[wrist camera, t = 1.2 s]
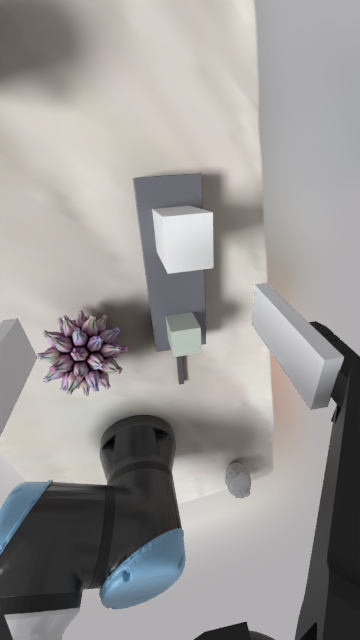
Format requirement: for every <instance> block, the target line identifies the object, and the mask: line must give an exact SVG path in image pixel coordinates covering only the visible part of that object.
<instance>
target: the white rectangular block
mask: <svg viewBox="0 0 360 640" xmlns="http://www.w3.org/2000/svg"><path fill="white" fill-rule="evenodd" d="M152 213H153V222H154V231H155V241H156V250H157V253H158V255H159V257H160V259H161V261H162V263H163V265H164V267H165V269H166V271H167V273H168V274H170V273H178V272H187V271H195V270H203V269H211V268H213V212H210V211H207V210H203V209H200V208H196V207H193V206H177V207H166V208H155V209H152Z"/></svg>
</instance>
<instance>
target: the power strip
mask: <svg viewBox="0 0 360 640" xmlns="http://www.w3.org/2000/svg"><path fill="white" fill-rule="evenodd" d="M133 184H134V192H135V199H136V207H137V214H138V222H139V230H140V237H141V245H142V252H143V260H144V267H145V275H146V283H147V290H148V298H149V305H150V313H151V320H152V328H153V336H154V342H155V347H156V352H159V351H165V350H171V348H170V344H169V341H168V334H167V324H166V316H168V315H175V314H181V313H188V312H192V313H193V314H194V316H195V318H196V320H197V322H198V324H199V325H200V327H201V345H202V344H206V324H205V287H204V269H203V270H195V271H187V272H178V273H170V274H168V273H167V271H166V269H165V267H164V265H163V263H162V261H161V259H160V257H159V255H158V253H157V250H156V241H155V231H154V222H153V213H152V209H155V208H166V207H177V206H193V207H196V208H200V209H202V173H197V174H183V175H169V176H155V177H141V178H133ZM176 358H177V369H178V380H179V384H184V374H183V361H182V356H179V357H176Z"/></svg>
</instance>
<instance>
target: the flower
mask: <svg viewBox="0 0 360 640" xmlns="http://www.w3.org/2000/svg"><path fill="white" fill-rule="evenodd" d="M107 318H108V317H107V316H105V315H103V316H102V317H101V318H100V319H97V321H96V315H93V314H92V315H90V317H89V319H88V320H87V319H86V317H85V316H84V313H83V311H82V310H81V311H79V315H78V318H77V320H76V321H75V320H73V321H71V320H70V319H69V318H68V317H67V316H66V315H64V317H62V319H61V318H59V319H58V322H59V324H60V330H61V333H59V332H48V331H45V330H44V332H43V333H42V335H43V336H44V337H46V339H47V340H48V342H49V343H50V344H51V345H52V346H53V347H51V348H49V349H47V350H46V351H45V352H43V353H38V354H37V356H38V357H37V359H38V360H40V361H41V360H43V361H47V362H49V363H50V364H53V366H51V367H50V371H49V373H48V375H47V376H46V377H45V378H44V382H46V383H47V382H49V381H50V380H53V379H59V378H61V377H62V386H61V388H60V391H62V392H64V391H65V393H66V394H70V395H71V394H72V392H73V390H74V389H79V387H80V386H81V388H82V389H83V391H84V395H85V396H86V395H87V396H88V395H89V388H90V386H91V387H92V388H93V390H94V392H95V391H99V388H98V384H99V385H102V386H104V387H105V389H108V388H109V387H110V384H109V378H108V374H110V373H116V374H119V373H121V371H122V370H123V369H122V368H121V367H119V366H118V364H117V363H116V361H115V360H114V359H113V358H116V357H118V356H119V355H121V354H122V353H125V352H128V350H127V346H121V345H119V344H117V343H112V342H113V341H114V340H115V339H116V337H117V335H118V334H119V333H121V331H120V328H118V327H115V328H114V329H108V330H106V320H107Z"/></svg>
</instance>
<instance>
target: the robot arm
mask: <svg viewBox="0 0 360 640" xmlns="http://www.w3.org/2000/svg"><path fill="white" fill-rule="evenodd" d="M252 326H253V327H254V329H255V330H256V332H257V333H258V334H259V336H260V337H261V339H262V340H263V342H264V343H265V345H266V346H267V347H268V349H269V350H270V352H271V353H272V355H273V356H274V357H275V359H276V360H277V362H278V363H279V365H280V366H281V368H282V369H283V371H284V372H285V374H286V375H287V376H288V378H289V379H290V381H291V382H292V383H293V385H294V386H295V388H296V389H297V391H298V392H299V394H300V395H301V397H302V398H303V399H304V401H305V402H306V404H307V405H308V407H309V408H310V410H312V409H318V408H323V407H328V404H329V401H330V398H331V397H332V398H333V400H334V401H335V402H336V403H337V406H336V409H335V411H334V415H333V417H332V420H331V421H332V422H333V427H332V432H331V439H330V445H329V451H328V457H327V463H326V469H325V475H324V481H323V487H322V494H321V499H320V506H319V512H318V518H317V525H316V530H315V537H314V543H313V549H312V554H311V560H310V567H309V573H308V579H307V585H306V591H305V596H304V600H303V603H302V607H301V610H300V615H299V619H298V624H297V630H296V636H295V640H360V357H359V356H358V355H357V354H356V353H355V352H354V351H353V350H352V349H351V348H350V347H348V346H347V345H346V344H345V343H344V342H343V341H342V340H340V338H338V337H337V336H336V335H334V333H333V332H332V331H331V330H330V329H328V328H327V327H326V326H324V325H322V324H320V323H318V322H316V321H315V322H307V320H305V319H304V318H303V317H302V316H301V315H300V314H299V313H298V312H297V311H296V310H295V309H294V308H293V307H292V306H291V305H290V304H289V303H288V302H287V301H286V300H285V299H284V298H283V297H282V296H281V295H280V294H279V293H278V292H277V291H275V290H274V289H273V288H272V287H271V286H270V285H269V284H268V283H262V284H255V287H254V300H253V313H252ZM36 359H37V356H36V354H35V352H34V350H33V348H32V346H31V344H30V342H29V340H28V338H27V336H26V334H25V332H24V330H23V328H22V326H21V324H20V322H19V320H18V318H17V319H10V320H3V321H2V322H1V324H0V436H1V434H2V432H3V429H4V427H5V425H6V423H7V421H8V419H9V417H10V415H11V412H12V410H13V408H14V406H15V404H16V402H17V400H18V397H19V395H20V393H21V391H22V389H23V387H24V385H25V383H26V380H27V378H28V376H29V374H30V372H31V370H32V368H33V366H34V363H35V361H36ZM175 449H176V442H175V437H174V432H173V430H172V428H171V426H170V425H169V424H168V423H167V422H165V421H164V420H162V419H159V418H157V417H153V416H133V417H129V418H126V419H123V420H121V421H118V422H117V423H115V424H114V425H112V426H111V427H110V428H109V429H108V430H107V431H106V432H105V433H104V435H103V437H102V439H101V444H100V459H101V463H102V466H103V470H104V473H105V476H106V480H107V485H93V484H76V483H60V482H53V481H52V480H49V481H48V482H24V483H21V484H19V485H18V486H16V487H15V488H14V489H13V490H12V491H11V493H10V494H9V496H8V497H7V499H6V500H5V502H4V504H3V505H2V507H1V509H0V640H62V635H63V633H64V631H65V629H66V628H67V626H68V625H69V624H70V622H71V621H72V620H73V619H74V617H75V616H76V615H77V614H78V612H79V610H80V604H81V597H82V591H83V589H93V588H100V594H99V595H100V598H101V602H102V604H103V605H104V606H105V607H106V608H112V609H123V608H128V607H131V606H135V605H137V604H140V603H143V602H145V601H148V600H150V599H152V598H154V597H156V596H157V595H159V594H161V593H162V592H164V591H165V590H166V589H168V588H169V587H170V586H172V585H173V584H174V583H175V581H177V580H178V578H179V577H180V575H181V574H182V572H183V569H184V566H185V550H184V540H183V536H184V535H183V534H184V533H183V530H182V527H181V521H180V516H179V511H178V504H177V499H176V493H175V487H174V482H173V476H172V468H173V462H174V455H175ZM194 640H274V639H273V638H271V637H269V636H267V635H264V634H261V633H258V632H254V631H249V630H248V626H247V622H243V623H239V624H235V625H231V626H227V627H223V628H219V629H215V630H211V631H207V632H204V633H203V634H201V635H200V636H198V637H197V638H195V639H194Z"/></svg>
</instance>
